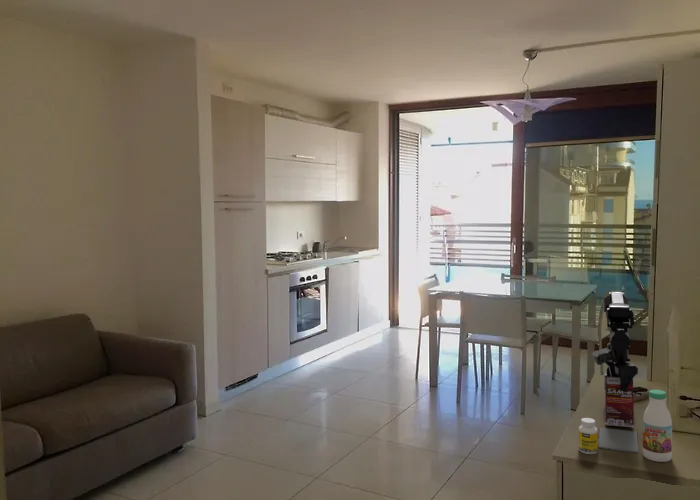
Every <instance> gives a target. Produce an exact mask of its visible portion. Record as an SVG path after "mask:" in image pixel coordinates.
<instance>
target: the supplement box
mask: <svg viewBox="0 0 700 500" xmlns="http://www.w3.org/2000/svg"><path fill="white" fill-rule="evenodd" d="M604 400H605V401H604V408H605V409H604V410H605V411H604V416H605V417H604V419H605V420H604V421H605V422H604V423H605V425H606V426H615V427H625V428H635V427H634V426H635V423H634V422H635V417H634V416H635V415H634V414H635V413H634V408H635V407H634V405H635V404H634V378H633V379H632V381H631V382H630V384H629V386H628V388H627V389H626V391H622V390H621V384H620V378H619V377H605V390H604Z"/></svg>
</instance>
